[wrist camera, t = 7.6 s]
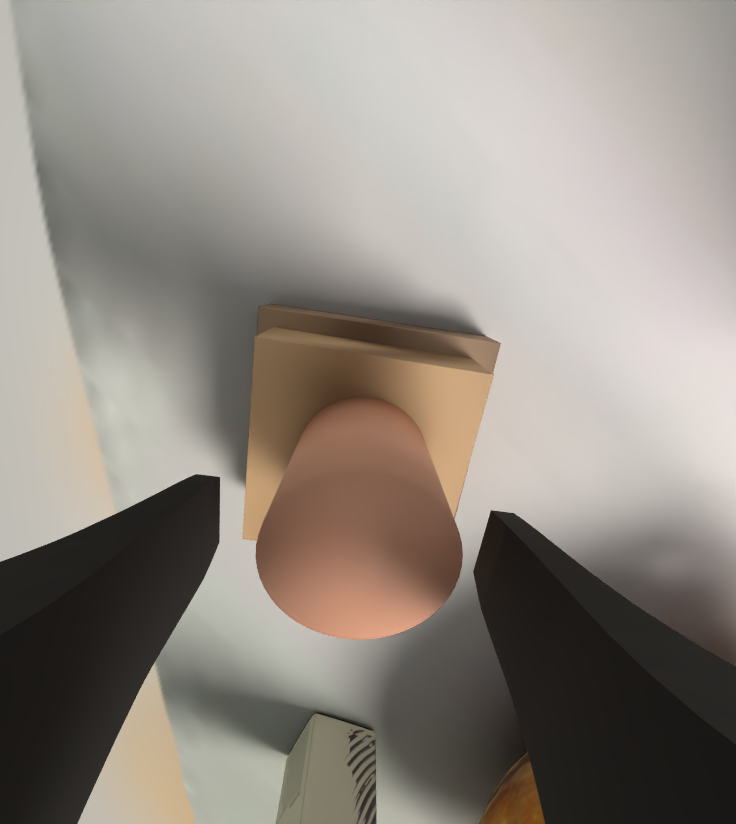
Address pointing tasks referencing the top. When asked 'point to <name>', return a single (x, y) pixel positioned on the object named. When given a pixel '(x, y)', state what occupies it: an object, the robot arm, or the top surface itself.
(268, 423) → the top block
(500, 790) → the wooden bowl
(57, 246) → the top surface
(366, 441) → the peach capsule
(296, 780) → the box
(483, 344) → the bottom block
